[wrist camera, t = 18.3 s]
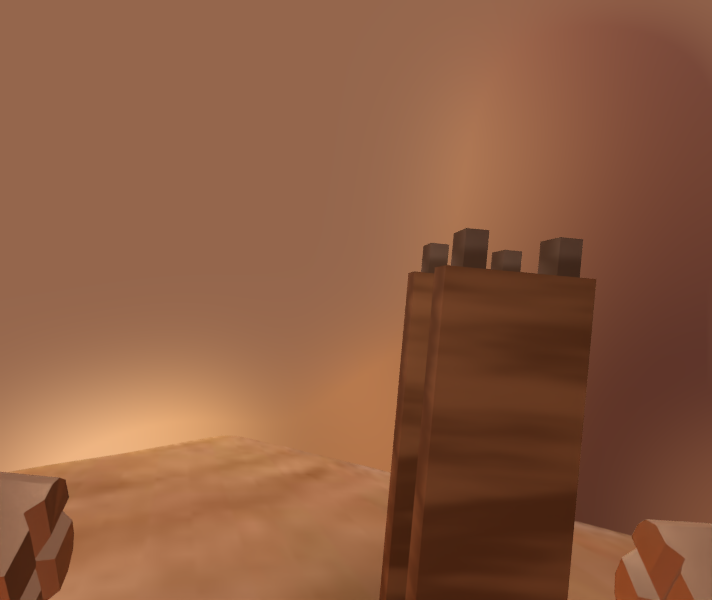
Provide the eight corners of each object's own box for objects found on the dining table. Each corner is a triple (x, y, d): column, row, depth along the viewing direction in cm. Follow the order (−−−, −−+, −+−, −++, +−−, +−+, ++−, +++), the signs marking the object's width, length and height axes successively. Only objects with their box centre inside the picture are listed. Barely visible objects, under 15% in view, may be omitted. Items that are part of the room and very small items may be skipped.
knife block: (571, 754, 35) (618, 242, 35) (383, 746, 34) (430, 224, 34) (500, 629, 48) (534, 256, 48) (363, 621, 47) (397, 243, 47)
